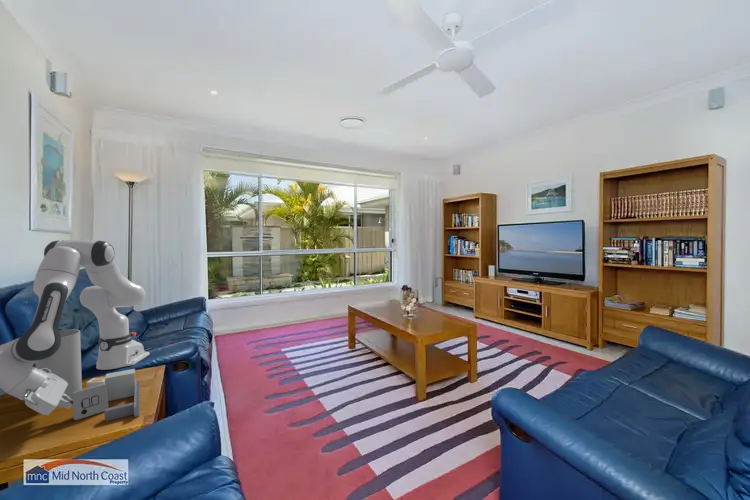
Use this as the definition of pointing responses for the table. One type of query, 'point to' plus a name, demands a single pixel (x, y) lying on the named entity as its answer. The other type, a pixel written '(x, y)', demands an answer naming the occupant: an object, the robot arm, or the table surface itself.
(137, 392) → the rail
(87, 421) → the table surface
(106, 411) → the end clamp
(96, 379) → the block
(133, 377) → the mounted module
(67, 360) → the cylinder vase
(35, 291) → the robot arm
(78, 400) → the electrical switch
